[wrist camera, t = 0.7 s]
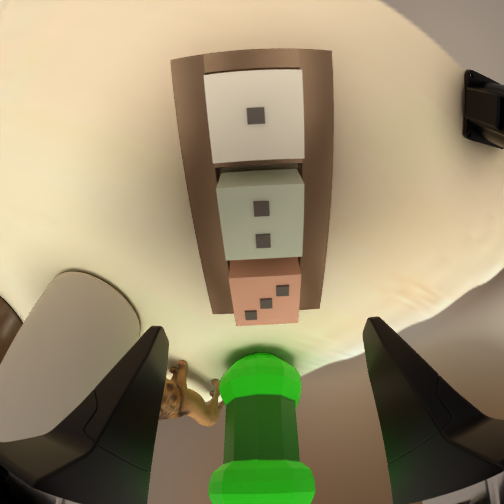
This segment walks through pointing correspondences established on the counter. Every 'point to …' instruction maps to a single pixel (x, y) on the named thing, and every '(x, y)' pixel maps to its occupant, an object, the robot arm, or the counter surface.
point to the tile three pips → (265, 290)
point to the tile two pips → (261, 213)
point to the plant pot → (7, 327)
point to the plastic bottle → (261, 436)
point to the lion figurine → (188, 399)
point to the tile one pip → (255, 115)
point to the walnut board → (207, 175)
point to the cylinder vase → (62, 353)
